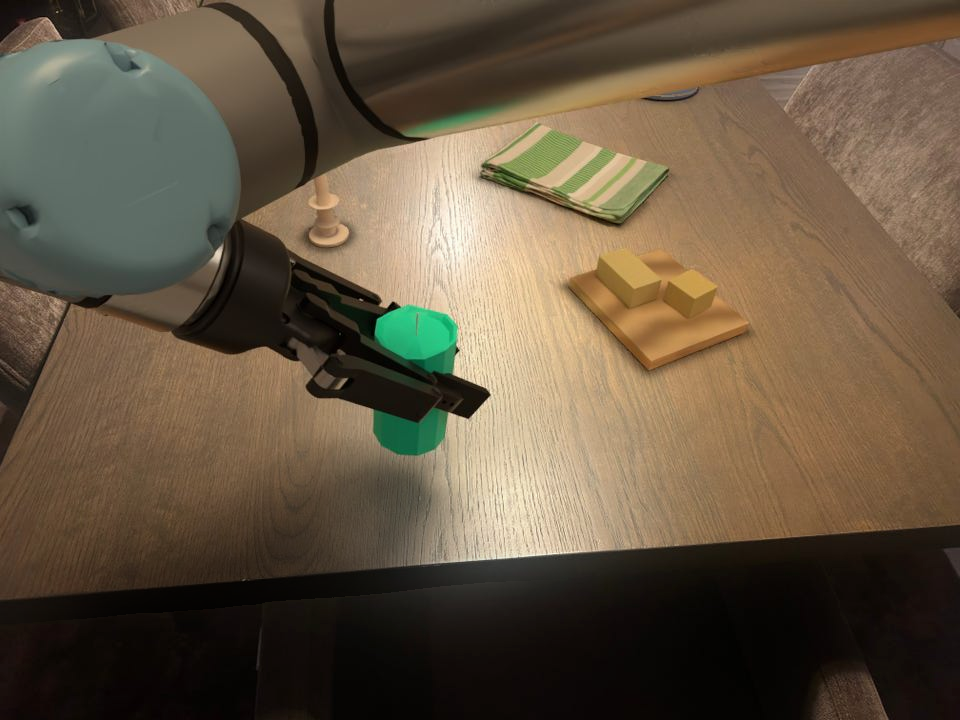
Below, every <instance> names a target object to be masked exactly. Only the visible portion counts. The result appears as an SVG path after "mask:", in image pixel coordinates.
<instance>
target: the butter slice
mask: <svg viewBox="0 0 960 720" xmlns="http://www.w3.org/2000/svg"><path fill="white" fill-rule="evenodd" d="M718 288H719V286H718V285H717V284H715V283H714V282H712V281H711V280H709V279H708V278H707V277H705V276H703V275H702V274H701V273H699V272H698V271H697V270H694V269H693V268H691V269H688V270H687V272H685V273H683V274H681V275H679V276H677V277H675V278H673V279H670V280H669V281H668V284H667V288H666V291H665V295H664V298H663V301H665V302H666V303H668V304H669V305H670V306H672V307H673V308H674V309H676V310H677V311H678V312H680V313H681V314H683V315H684V316H685V317H687V318H690V317H692V316H694V315H696V314H698V313H700V312H701V311H703V310H705V309H707V308H709V307H711V306H712V303H713V300H714V297H715V294H716V295H717V291H718Z"/></svg>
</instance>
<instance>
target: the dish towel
mask: <svg viewBox="0 0 960 720" xmlns="http://www.w3.org/2000/svg"><path fill="white" fill-rule="evenodd" d="M480 167H481V168H482V170H481V171H480V172H479V175H481V176H482V177H483V178H484V179H486V180H490V181H493V182H496V183H499V184H501V185H503V186H506V187H512V188H513V189H515V190H518V191H522V192H525V193H532V194H535V195H538V196H540V197H542V198H544V199H547V200H548V201H551V202H553V203H556V204H557V205H561V206H563V207H566V208H569V209H573V210H575V211H578V212H580V213H584V214H587V215H589V216H594V217H596V218H599V219H603V220H604V221H607V222H611V223H615V224H622V223H623V222H624V221H625V220H626V219H627V218H629V216H631V215H632V214H633V212H634V211H636V209H637V208H638V207H639V206H640V205H642V203H643V202H644V201H645V200H646V198H648V197H649V196H650V195H651V194H652V193H653V192H654V190H655V189H656V188H657V187H658V186H659V185H660V184H661V183H662V182H663V181H664V180H665V178H666V177H667V176H668V175H669V173H670V172H671V169H670V167H668V166H666V165H663V164H659V163H655V162H652V161H647V160H643V159H641V158H637V157H635V156H634V157H633V156H629V155H627V154H624V153H621V152H618V151H613V150H610V149H608V148H605V147H601V146H599V145H597V144H592V143H590V142H587V141H584V140H582V139H580V138H576V137H575V136H572V135H569V134H566V133H563V132H561V131H559V130H556V129H555V128H554V129H553V128H552V127H549V126H546V125H544V124H542V123H541V122H539V121H536V122H535V123H533V124H532V125H531V126H530V127H529V128H527V129H526V130H525V131H523V132H522V133H521V134H519V135H518V136H517V137H515V138H514V139H513V140H511V141H510V142H508V143H507V144H506V145H504V146H503V147H502V148H501V149H499V150H498V151H496V152H494V153H493V154H491V155H490V156H489V157H488V158H486V159H485V160H483V161H482V162H481V163H480Z"/></svg>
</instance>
